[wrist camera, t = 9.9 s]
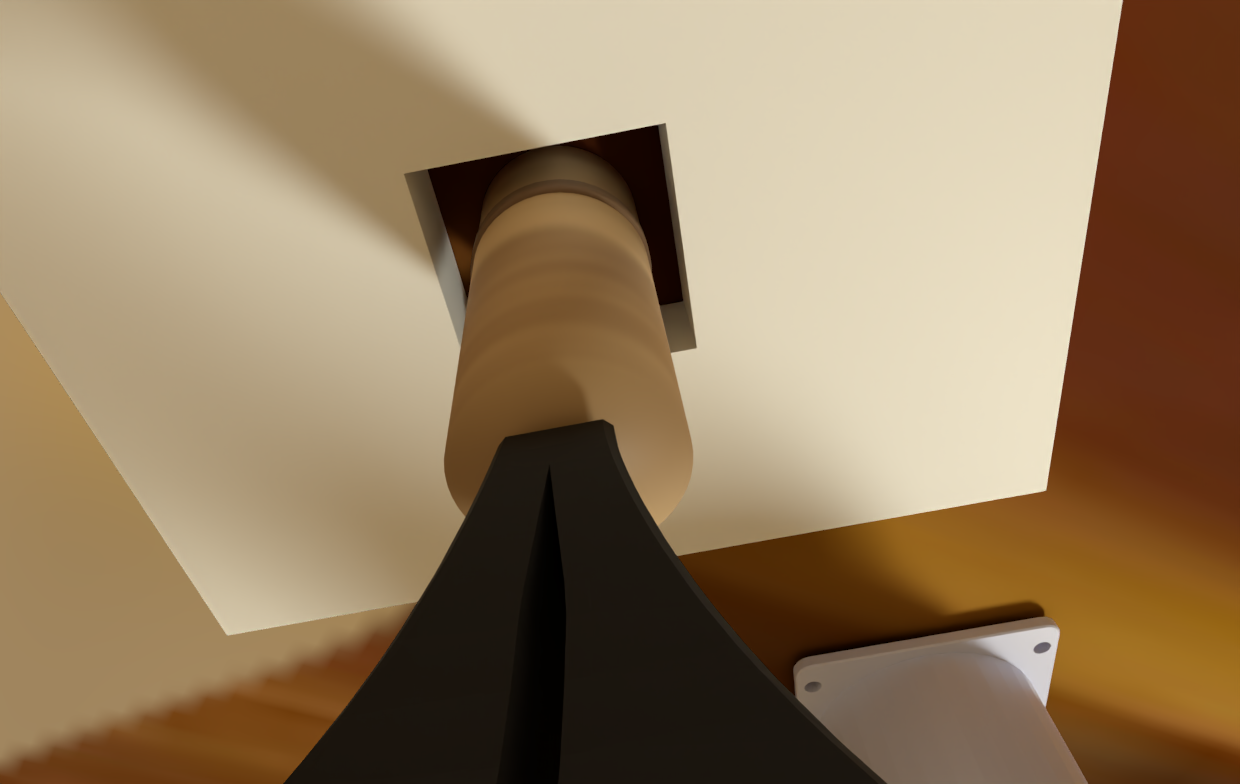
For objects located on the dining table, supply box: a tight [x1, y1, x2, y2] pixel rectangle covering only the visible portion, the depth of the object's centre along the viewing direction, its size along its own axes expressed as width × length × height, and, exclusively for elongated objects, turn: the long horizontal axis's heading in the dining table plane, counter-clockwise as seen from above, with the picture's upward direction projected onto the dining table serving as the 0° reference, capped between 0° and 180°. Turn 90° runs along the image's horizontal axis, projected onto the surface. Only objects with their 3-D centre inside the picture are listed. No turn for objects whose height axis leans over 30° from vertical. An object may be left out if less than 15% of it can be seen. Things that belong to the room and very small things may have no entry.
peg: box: [444, 146, 693, 526], centre depth 14 cm, size 3×3×8 cm
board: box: [0, 0, 1123, 635], centre depth 17 cm, size 16×20×2 cm
